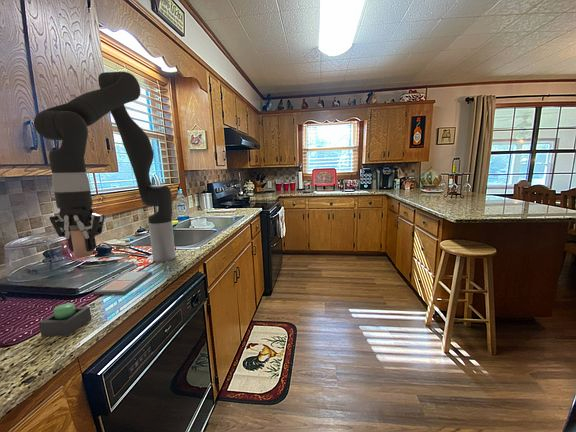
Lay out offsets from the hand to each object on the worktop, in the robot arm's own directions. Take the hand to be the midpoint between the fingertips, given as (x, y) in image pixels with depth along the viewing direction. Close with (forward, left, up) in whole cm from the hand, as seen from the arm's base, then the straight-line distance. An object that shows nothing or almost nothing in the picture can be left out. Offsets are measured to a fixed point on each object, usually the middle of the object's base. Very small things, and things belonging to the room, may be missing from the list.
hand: (83, 250), depth 70 cm
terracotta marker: (0, 0, -1) cm, 1 cm away
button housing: (+9, -4, -17) cm, 20 cm away
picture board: (-12, +8, -17) cm, 23 cm away
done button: (+9, -4, -14) cm, 17 cm away
